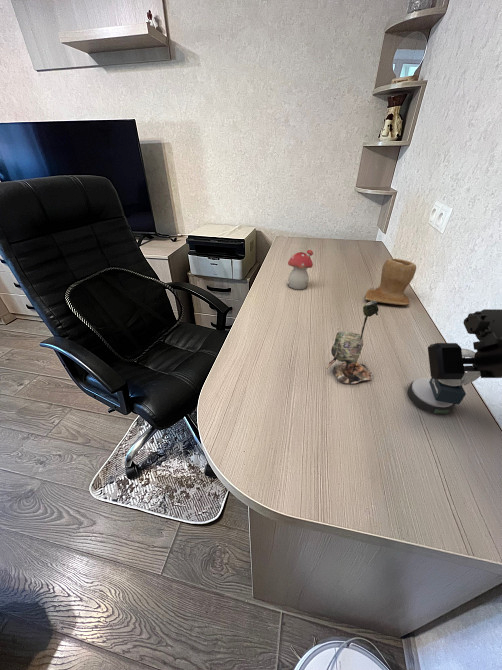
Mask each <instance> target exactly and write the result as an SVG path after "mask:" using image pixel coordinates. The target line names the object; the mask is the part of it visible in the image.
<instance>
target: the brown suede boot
mask: <svg viewBox="0 0 502 670" xmlns="http://www.w3.org/2000/svg"><path fill="white" fill-rule="evenodd" d="M416 271H417V265H416V264H415V263H414V262H412V261H408V260H407V259H403V258H402V259H401V258H394V257H393V258H392V257H391V258H390V257H389V258H387V259H386V260H385V262H384V264H383V265H382V268H381V276H380V284H379V286H378V287H376V288H368V289H367V291H366V293H365V298H364V300H365V301H368V302H371V301H373V300H375V301H376V302H377V303H381V304H388V305H397V306H398V305H399V306H407V305H409V304H410V299H409V297H408V296H407V295H406V294H405V291H406V289H407V287H408V286H409V285H410V284H411V282H412V281H413V279H414V277H415V274H416Z"/></svg>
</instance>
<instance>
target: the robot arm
mask: <svg viewBox="0 0 502 670" xmlns="http://www.w3.org/2000/svg"><path fill="white" fill-rule="evenodd" d="M462 323H463V325H464V327H465V330H466V332H467V334H468V335H475V337H476V339H477V340H478V341H472V344H473V345H472V346H473V351H476V352H475V356H474V358H470V357H465V358H463V357H462V350H461V348H462V346H460V345H459V343H458V342H436V343H431V344H429V346H428V347H427V353H428V360H429V361H428V362H429V372H430V377H431V378H433V379H434V380H456V379H462V377H463V376H464V374H465V373H466V372H480V375H481V376H480V379H502V309H500V308H499V309H498V308H495V309H493V308H492V309H491V308H489V309H488V308H487V309H486V308H485V309H482V310H480V311H479V310H478V311H477V310H476V311H475V312H473V313H471V312H470V313H468V315H467V317H465V318H463V322H462Z"/></svg>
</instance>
